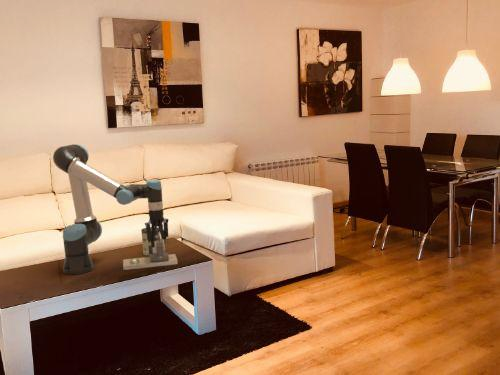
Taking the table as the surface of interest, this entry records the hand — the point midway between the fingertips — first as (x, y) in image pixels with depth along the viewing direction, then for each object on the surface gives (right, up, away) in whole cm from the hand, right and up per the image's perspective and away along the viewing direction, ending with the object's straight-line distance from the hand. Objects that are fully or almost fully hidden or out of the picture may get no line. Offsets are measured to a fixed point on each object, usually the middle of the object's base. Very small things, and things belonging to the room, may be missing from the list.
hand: (158, 251), depth 273 cm
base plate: (-5, -6, 0) cm, 8 cm away
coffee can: (-7, -3, +20) cm, 21 cm away
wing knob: (0, -4, +1) cm, 4 cm away
